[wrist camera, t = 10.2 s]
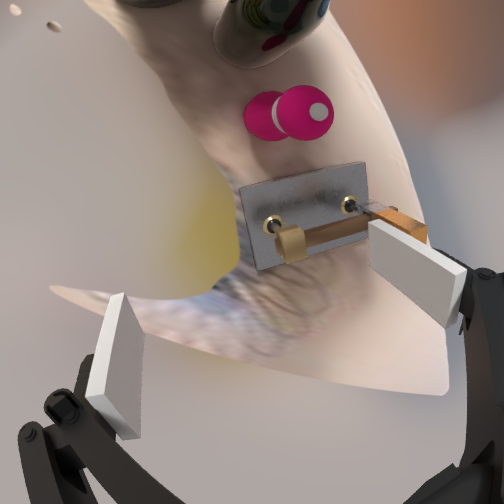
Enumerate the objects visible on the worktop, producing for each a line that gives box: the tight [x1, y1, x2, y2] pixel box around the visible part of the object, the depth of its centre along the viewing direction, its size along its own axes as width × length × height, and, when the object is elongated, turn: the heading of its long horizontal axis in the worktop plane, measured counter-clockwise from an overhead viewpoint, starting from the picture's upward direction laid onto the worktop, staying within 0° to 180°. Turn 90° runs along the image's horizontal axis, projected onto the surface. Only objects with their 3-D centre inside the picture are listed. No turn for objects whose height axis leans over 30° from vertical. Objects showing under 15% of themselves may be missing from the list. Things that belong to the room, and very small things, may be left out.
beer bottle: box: [213, 0, 331, 69], centre depth 23 cm, size 10×10×33 cm
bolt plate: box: [239, 161, 369, 271], centre depth 50 cm, size 14×22×2 cm, turn 102°
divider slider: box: [351, 200, 427, 244], centre depth 42 cm, size 4×3×17 cm
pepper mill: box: [244, 85, 334, 141], centre depth 34 cm, size 7×7×20 cm
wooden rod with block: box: [271, 206, 398, 264], centre depth 45 cm, size 4×20×9 cm, turn 102°
